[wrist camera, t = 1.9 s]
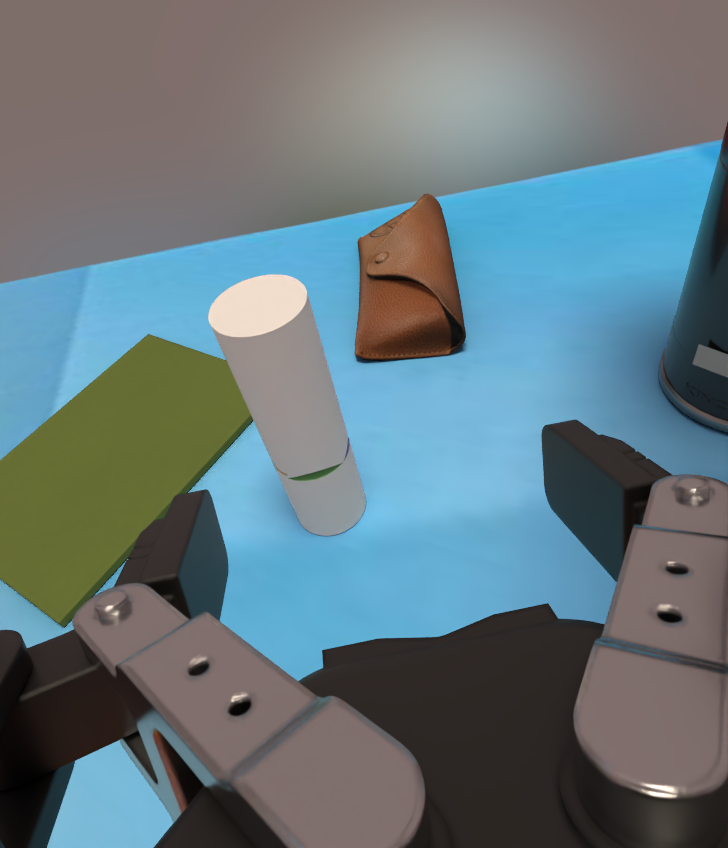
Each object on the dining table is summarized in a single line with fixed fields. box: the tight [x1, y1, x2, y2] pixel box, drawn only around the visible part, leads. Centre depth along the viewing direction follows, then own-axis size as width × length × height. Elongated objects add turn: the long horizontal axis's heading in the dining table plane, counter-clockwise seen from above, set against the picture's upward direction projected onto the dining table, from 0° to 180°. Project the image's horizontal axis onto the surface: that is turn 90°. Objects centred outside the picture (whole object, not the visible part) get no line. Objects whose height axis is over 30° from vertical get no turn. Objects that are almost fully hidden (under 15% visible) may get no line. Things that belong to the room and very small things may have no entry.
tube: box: [208, 275, 366, 536], centre depth 30 cm, size 4×4×15 cm
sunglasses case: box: [355, 194, 466, 360], centre depth 48 cm, size 18×7×7 cm, turn 1°
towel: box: [0, 334, 253, 627], centre depth 42 cm, size 21×15×1 cm
